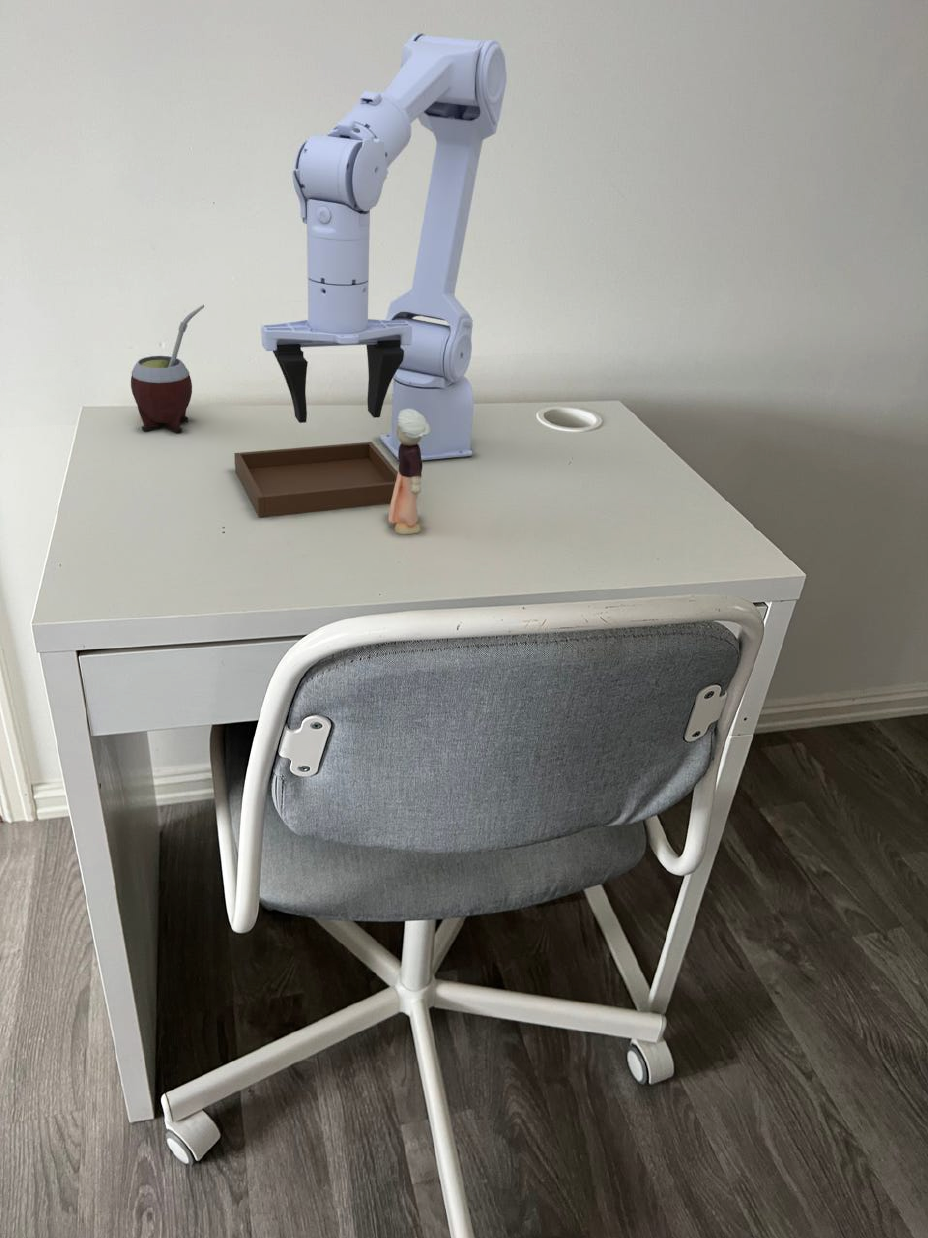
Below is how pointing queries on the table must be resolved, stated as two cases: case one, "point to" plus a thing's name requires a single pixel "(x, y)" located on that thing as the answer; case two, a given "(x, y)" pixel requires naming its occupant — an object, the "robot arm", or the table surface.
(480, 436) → the table surface
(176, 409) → the mate gourd
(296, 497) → the tray
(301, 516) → the table surface
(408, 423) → the grandmother figurine
